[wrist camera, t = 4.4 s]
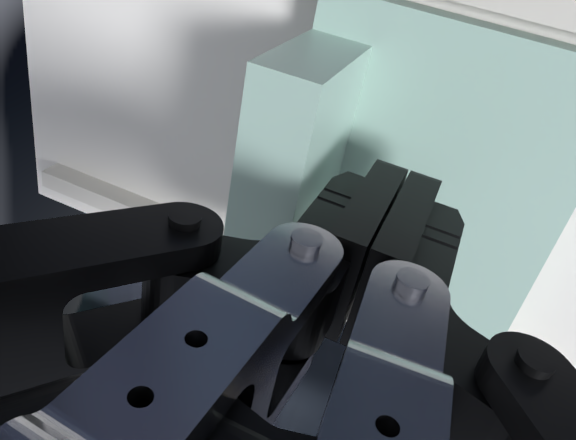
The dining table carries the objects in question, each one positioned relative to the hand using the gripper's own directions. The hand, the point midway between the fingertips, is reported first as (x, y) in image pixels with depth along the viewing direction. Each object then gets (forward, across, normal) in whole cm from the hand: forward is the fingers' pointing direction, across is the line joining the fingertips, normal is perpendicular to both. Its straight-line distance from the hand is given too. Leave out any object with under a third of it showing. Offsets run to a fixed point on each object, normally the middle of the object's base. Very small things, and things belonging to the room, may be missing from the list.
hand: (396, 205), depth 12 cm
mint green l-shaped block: (+2, 0, 0) cm, 2 cm away
